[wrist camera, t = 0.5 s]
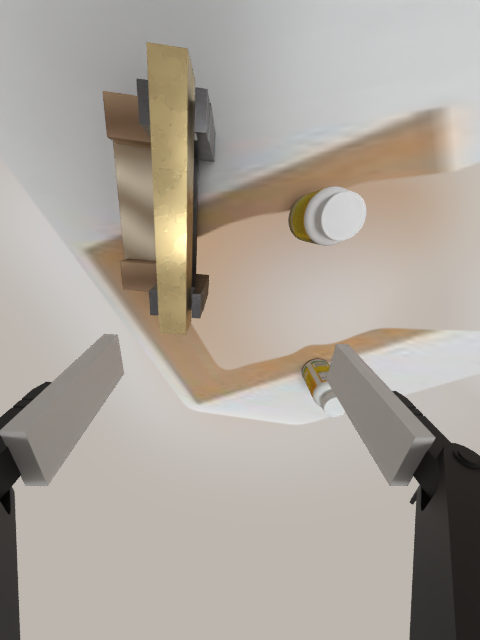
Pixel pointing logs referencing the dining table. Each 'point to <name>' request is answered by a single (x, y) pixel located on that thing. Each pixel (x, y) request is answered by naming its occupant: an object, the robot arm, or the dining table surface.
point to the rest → (133, 190)
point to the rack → (202, 151)
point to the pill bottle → (327, 216)
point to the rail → (172, 180)
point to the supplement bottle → (321, 387)
